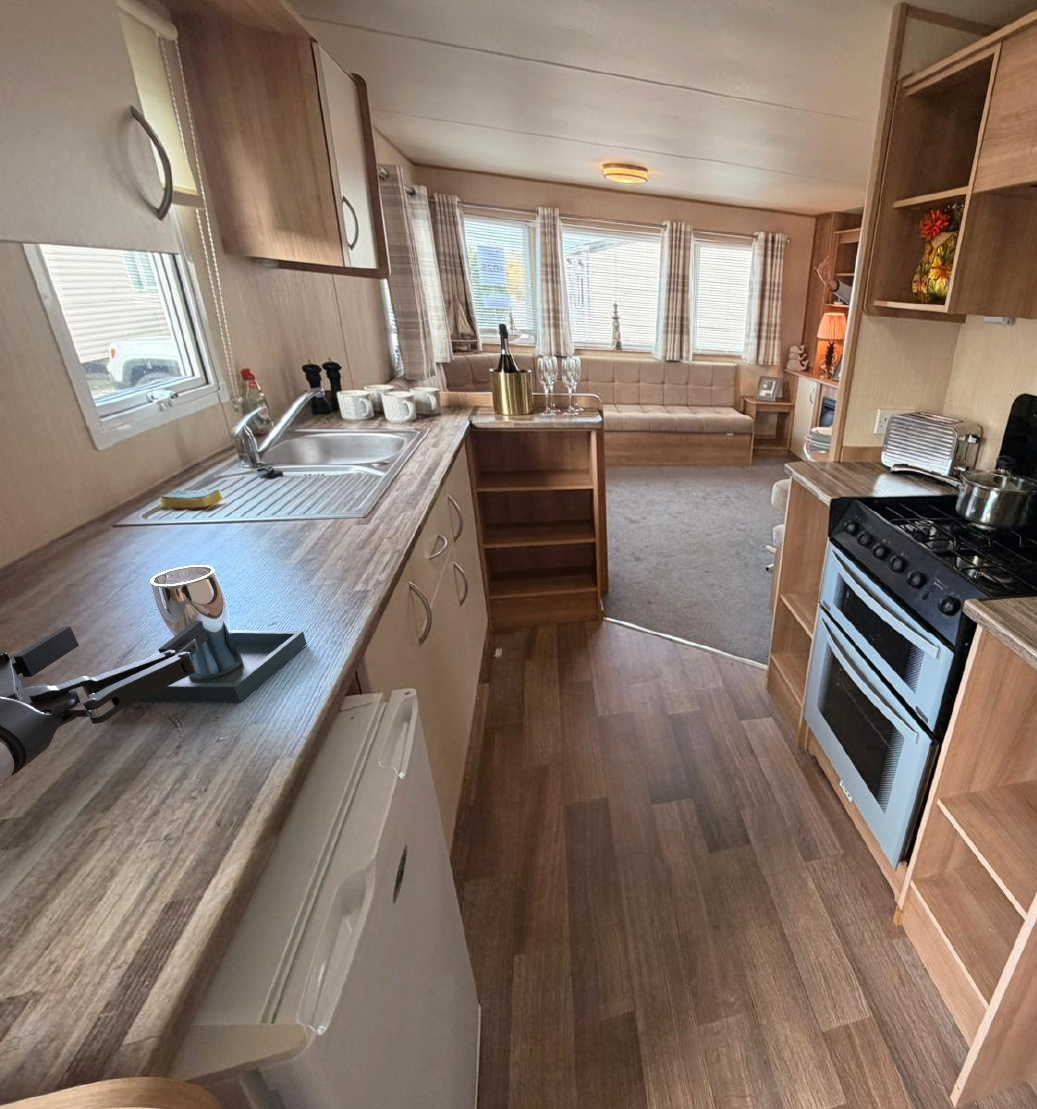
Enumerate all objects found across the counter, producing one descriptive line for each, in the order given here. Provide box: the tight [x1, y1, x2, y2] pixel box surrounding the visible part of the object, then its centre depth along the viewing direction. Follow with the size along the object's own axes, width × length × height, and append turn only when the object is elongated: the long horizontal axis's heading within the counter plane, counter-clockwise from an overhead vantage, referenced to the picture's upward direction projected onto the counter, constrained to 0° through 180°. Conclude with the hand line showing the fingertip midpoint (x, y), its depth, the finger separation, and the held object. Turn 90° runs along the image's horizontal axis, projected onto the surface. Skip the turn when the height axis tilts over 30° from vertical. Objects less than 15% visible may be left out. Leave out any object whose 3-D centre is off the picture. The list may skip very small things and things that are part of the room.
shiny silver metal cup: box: [149, 565, 242, 680], centre depth 83 cm, size 7×7×15 cm
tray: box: [136, 629, 308, 704], centre depth 85 cm, size 17×15×3 cm
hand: (137, 632), depth 72 cm, fingers open, 13 cm apart
